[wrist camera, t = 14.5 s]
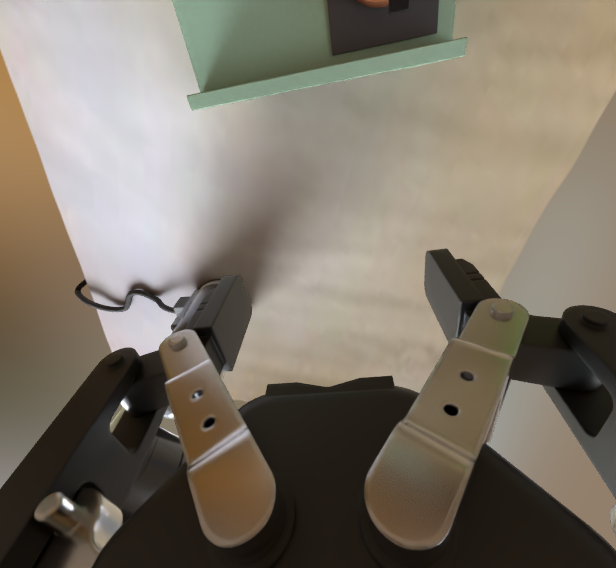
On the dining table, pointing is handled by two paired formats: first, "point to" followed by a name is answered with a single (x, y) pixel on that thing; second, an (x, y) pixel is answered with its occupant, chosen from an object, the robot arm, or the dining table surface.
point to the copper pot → (397, 4)
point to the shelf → (306, 43)
